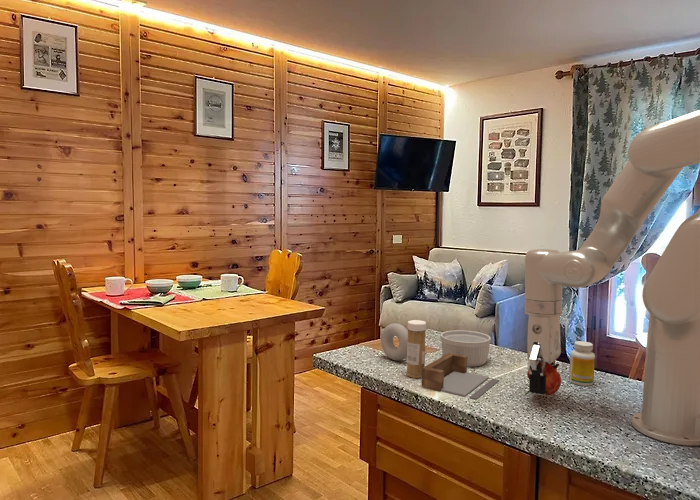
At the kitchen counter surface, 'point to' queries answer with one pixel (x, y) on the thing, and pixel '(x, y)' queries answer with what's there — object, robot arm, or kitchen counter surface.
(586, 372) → the supplement bottle
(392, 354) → the donut
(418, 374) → the sprinkles bottle
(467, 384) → the mat
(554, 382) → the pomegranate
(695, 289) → the robot arm
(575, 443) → the kitchen counter surface
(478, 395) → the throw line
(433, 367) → the backstop rail
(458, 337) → the ramekin
